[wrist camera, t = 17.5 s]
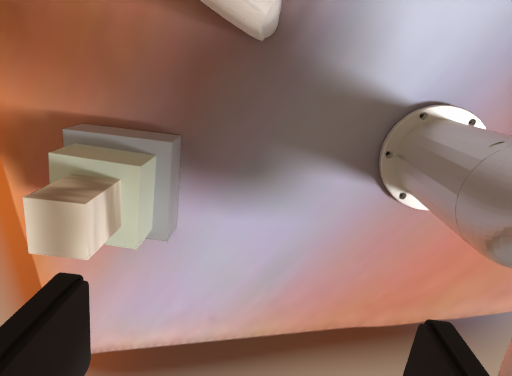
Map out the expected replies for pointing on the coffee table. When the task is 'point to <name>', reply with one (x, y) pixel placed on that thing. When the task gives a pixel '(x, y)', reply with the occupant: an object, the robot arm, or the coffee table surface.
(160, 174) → the tower bottom block
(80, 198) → the ash block
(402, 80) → the coffee table surface
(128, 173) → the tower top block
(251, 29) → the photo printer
